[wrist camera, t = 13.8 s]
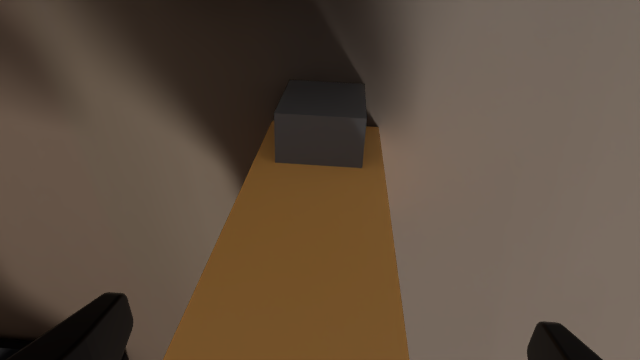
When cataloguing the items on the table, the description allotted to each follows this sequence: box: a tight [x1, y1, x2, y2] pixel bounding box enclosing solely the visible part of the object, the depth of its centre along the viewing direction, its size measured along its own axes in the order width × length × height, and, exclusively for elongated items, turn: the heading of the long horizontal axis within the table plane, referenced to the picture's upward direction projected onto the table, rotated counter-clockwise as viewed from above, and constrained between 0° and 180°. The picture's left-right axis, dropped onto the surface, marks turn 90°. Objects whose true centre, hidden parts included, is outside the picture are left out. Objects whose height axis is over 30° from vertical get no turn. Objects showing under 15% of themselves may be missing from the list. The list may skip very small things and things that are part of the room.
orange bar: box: [163, 80, 409, 360], centre depth 9 cm, size 3×5×8 cm, turn 178°
